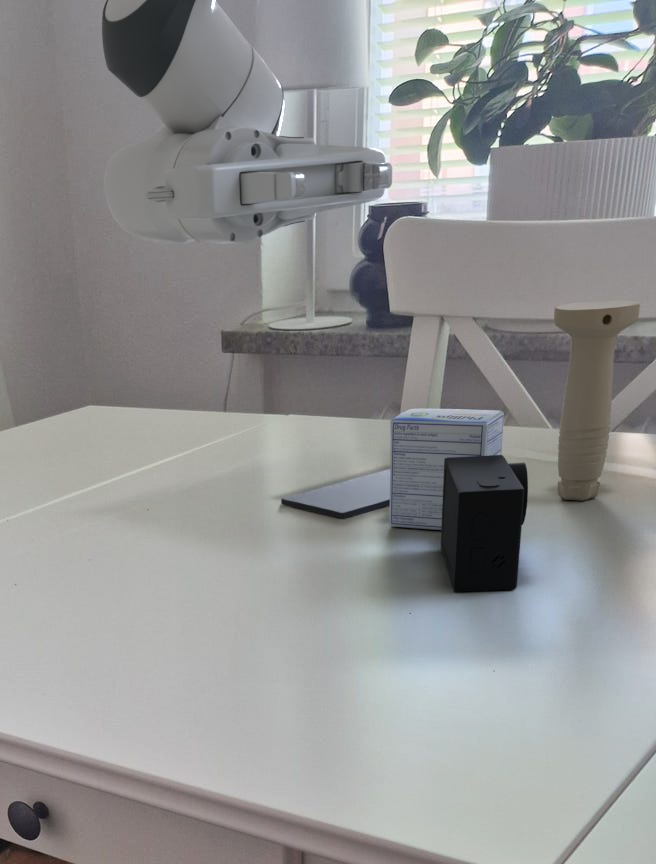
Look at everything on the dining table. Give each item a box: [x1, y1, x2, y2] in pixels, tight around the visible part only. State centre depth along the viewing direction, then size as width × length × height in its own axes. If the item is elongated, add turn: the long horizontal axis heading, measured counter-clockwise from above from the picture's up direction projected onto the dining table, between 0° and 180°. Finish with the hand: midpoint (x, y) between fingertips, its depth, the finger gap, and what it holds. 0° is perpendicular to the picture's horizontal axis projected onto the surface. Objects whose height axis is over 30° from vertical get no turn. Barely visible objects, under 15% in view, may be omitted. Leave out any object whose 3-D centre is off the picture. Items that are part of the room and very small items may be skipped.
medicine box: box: [388, 408, 505, 531], centre depth 93 cm, size 8×4×9 cm, turn 59°
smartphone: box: [280, 468, 390, 520], centre depth 105 cm, size 14×8×1 cm, turn 127°
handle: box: [553, 299, 641, 502], centre depth 96 cm, size 5×6×15 cm
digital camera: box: [440, 454, 529, 593], centre depth 83 cm, size 10×5×7 cm, turn 174°
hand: (343, 180), depth 91 cm, fingers open, 8 cm apart
